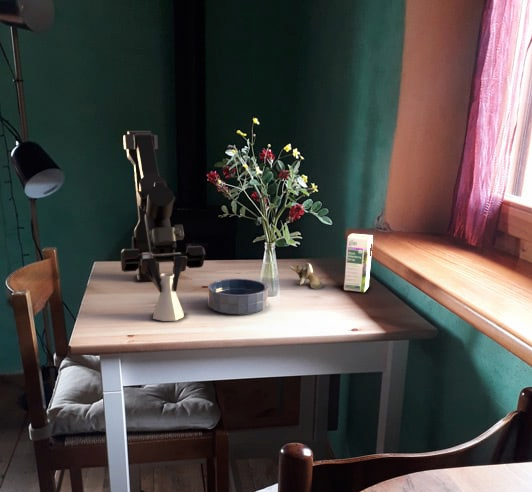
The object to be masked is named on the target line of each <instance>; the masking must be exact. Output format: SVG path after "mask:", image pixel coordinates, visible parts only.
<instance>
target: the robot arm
mask: <svg viewBox="0 0 532 492" xmlns="http://www.w3.org/2000/svg"><path fill="white" fill-rule="evenodd" d="M158 141H159V140H158V135H157V134H154V133H153V132H152V131H151V130H127V134H124V135H123V149H124V150H126V156H127V159H128V160H129V162H130V163H131V165H133V170H134V181H135V192H136V203H137V204H136V205H137V214H138V215H137V217H138V222H137V224H136V226H135V228H134V230H133V236H132V237H131V248H123V249H122V250H121V252H120V266H121V271H122V272H124V273H128V272H137V271H138V273H137V274H136V278H137V282H138V283H139V282H140V283H141V282H152V283H153V284H154V286H155V288H156V289H157V291H158V293H160V292H162V287H161V285H162V282H161V278H160V274H162V273H161V272H160V264H161V263H173V266H172V274H174V278H173V285H174V291H175V292H177V290H178V283H179V278H180V276H181V273H182V272H185V271H186V269H187V268H188V269H197V268H198V269H199V268H200V269H201V268H202V267H204V263H205V258H206V250H205V248H204V247H203V246H202V245H187V246H186V249H185V251H184V252H176V250H177V241H183V240H184V238H185V233H184V232H185V231H184V226H183V224H174V225H173V226H171V220H170V219H171V216H172V213H173V206H174V203H176V197H175V194H174V192H173V190H172V189H170V187H168V186H167V182H166V180H165V179H163V178H162V177H161V176H160V172H159V168H158V162H157V157H156V150H159V142H158Z"/></svg>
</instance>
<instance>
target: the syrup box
mask: <svg viewBox="0 0 532 492" xmlns="http://www.w3.org/2000/svg"><path fill="white" fill-rule="evenodd" d="M373 236H374V235H373V234H362V233H361V234H360V233H350V234H349V235H348V236H347V239H346V254H345V255H346V256H345V269H344V270H345V271H344V283H343V291H350V292H358V293H365V292H366V291H367V290H368V288H369V286H370V275H371V274H370V273H371V263H372V255H371V256H370V248H371V244H372V245H373V240H374V239H373V238H374V237H373Z"/></svg>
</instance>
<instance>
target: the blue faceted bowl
mask: <svg viewBox="0 0 532 492" xmlns="http://www.w3.org/2000/svg"><path fill="white" fill-rule="evenodd" d="M268 294H269V286H268V284H266V283H264V282H263V281H260V280H255V279H249V278H226V279H220V280H216V281H213V282H211V283H209V284H208V285H207V305H208V307H209V308H210V309H212V310H214V311H216V312H218V313H220V314H226V315H233V316H234V315H235V316H236V315H238V316H239V315H240V316H241V315H251V314H256V313H258V312H261V311H263V310H265V309H266V308H267V306H268V301H269V300H268V298H269V297H268V296H269V295H268Z"/></svg>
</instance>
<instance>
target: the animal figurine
mask: <svg viewBox="0 0 532 492" xmlns="http://www.w3.org/2000/svg"><path fill="white" fill-rule="evenodd" d="M289 267H290V270H291V271H293V272H295V273H296V274H297V275H298V278H299V279H300V282H299V286H301V285H303V284H304V283H305V281H306V280H308V281H309V283H310V288H312V289H315V290H319V289H321V288H322V287H323V282H322V280H321V279H320V278H319V277H318V276H316V275H315V274H314V270H313V266H312V264H311V263H309V262H306V265H305V267H304V266H301V269H300V265H296V267H295V268H294V267H293V266H292V265H289ZM304 268H305V269H304Z"/></svg>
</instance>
